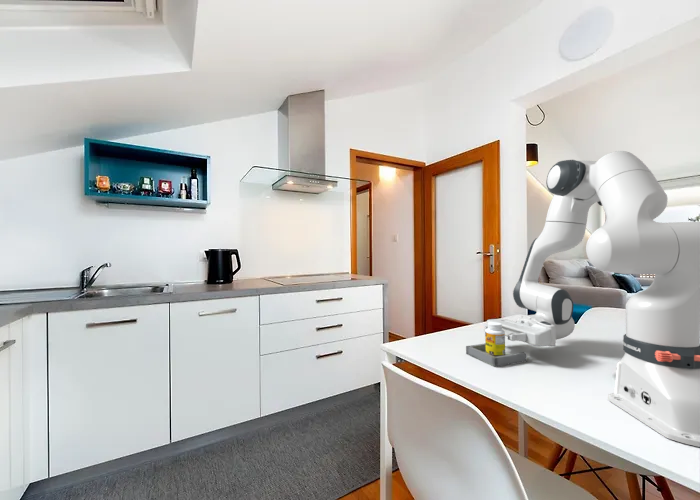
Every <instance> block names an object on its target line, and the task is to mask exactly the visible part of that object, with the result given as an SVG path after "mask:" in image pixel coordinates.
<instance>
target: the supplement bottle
mask: <svg viewBox="0 0 700 500" xmlns="http://www.w3.org/2000/svg"><path fill="white" fill-rule="evenodd" d="M484 332H485V333H484V335H485V336H484V337H485V338H484V339H485V340H484V341H485V343H484V344H485V347H486V353H487V354H489V355H492V356H494V357H497V356H503V355H505V352H506V336H505V331H504V330H502V324H501V323H498V322H489V323H488V328H487V329H486V330H485V331H484Z"/></svg>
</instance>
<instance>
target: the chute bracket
mask: <svg viewBox="0 0 700 500" xmlns="http://www.w3.org/2000/svg"><path fill="white" fill-rule="evenodd" d="M465 351H466V352H465V355H468V356H470V357H472V358H474V359H477V360H479V361H481V362H483V363H484V364H487V365H490V366H492V367H494V368H498V367H504V366H509V365H514V364H515V365H516V364H520V363H526V362H527V353H526V352H524V351H523V352H518V353H508V352H507V351H505V355H503V356H497V357H494V356H492V355H489V354H487V353H486V347H485V343H479V344H473V345H466V346H465Z"/></svg>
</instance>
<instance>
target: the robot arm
mask: <svg viewBox="0 0 700 500" xmlns="http://www.w3.org/2000/svg"><path fill="white" fill-rule="evenodd" d="M546 187H547V191H548V192H549V193H551V194H553V196H552V198H551V201H550V203H549V206H548V210H547V212H546V213H547V214H546V217H545V222H544V226H543V229H542V231H541V232H540V234H539V235H538V237H536V238H535V239H534V240H533V241H532V243H531V245H530V247H529V249H528V253H527V255H526V258H525V260H524V265H523V267H522V270H521V273H520V275H519V279H518V281H517V282H516V284H515V287H514V288H513V290H512V296H513V300H514V302H515V304H516V306H518V307H519V308H521V309H525V310H528V311H529V310H530V311H534V312H536V313H535V314H527V315H521V316H519V317H518V318H517V320H516V321H513V320H510V319H508V318H507V319H506V318H491V319H487V320H486V326H484V329H483V332H485V330H486V329H487V328H488V323H489V322H498V323H501V324H502V330H504V331H505V337H507V340H508V341H512V342H515V341H519V342H523V343H527V344H529V345H532V346H536V347H555V346H556V343H557V342H556V341H557V340H561V339H563V338H564V339H565V338H567V337H568V336H569V335H571V334H572V333H573V332H574V330H575V326H576V325H575V324H576V323H575V320H574V319H573V316H572V315H573V313H574V302H573V298H572V296H571V294H570V293H569V292H568V291H567V290H566V289H563V288H560V287H559V288H558V287H555V286H551V285H546V284H542V283H539V277H540V275H541V272H542V268H543V266H544V264H545V261H546V260H547V259H548V258H549V257H550V256H552V255H555V254H558V253H561V252H562V253H563V252H566V251H569V250H572V249H574V248H575V247H577V246H578V245H580V243H582V241H583V239H584V237H585V234H586V228H587V222H588V218H589V217H588V216H589V211H590V209H591V207H592V206H593V205H594V204H598V205H599V206H600V207H602V208H603V212H604V215H605V222H604V223H603V225H601V226H600V227H598V228H597V229H595V230H594V231H593V232H592V233H591V234H590V236H589V237H588V239H587V241H586V244H585V253H586V257H587V259H588V261H589V263H590V264H591V265H592V266H593V268H595V269H597V270H598V271H603V272H609V273H613V274H614V273H615V274H621V275H654V279H653V281H652V282H651V284H650V285H649V286H648V287H647V288H646V289H644V290H642V291H639V292H636V293H635V294H633V295H631V296H630V297H629V299H627V301H626V303H625V333H624V334H623V337H622V338H623V339H622V345H623V348H622V349H623V350H622V351H623V352H624V355H623V356H622V358H621V359H620V360H619V361H618V362H617V364H616V370H615V382H614V383H615V384H614V392H611V393H608V396H607V400H608V401H609V402H610V403H612V404H613V405H615V406H617V407H619V408H620V409H622V410H623V411H624V412H626V413H628V414H629V415H631V416H632V417H633V418H635V419H637V420H638V421H640V422H641V423H643V424H644V425H646V426H648V427H649V428H651V429H653V431H655V432H657V433H659V434H660V435H662V436H663V437H665V438H667V439H669V440H673V441H676V442H678V443H682V444H686V445H690V446H694V447H699V448H700V221H683V222H676V221H675V222H657V221H656V220H655V219H656V218H659V216H660V215H662V213H664V211H665V209H666V208H667V205H668V195H667V194H666V192H665V190H664V189H663V187H662V186H661V184H660V182H659V181H658V180H657V178H656V177H655V175H654V174H653V172H652V171H651V169H650V168H649V167H648V166H647V165H646V164H645V163H644V162H643V161H642V159H640V158H639V157H638V156H636V155H634V153H631V152H630V151H625V150H618V151H617V150H616V151H612V152H609V153H606V154H604V155H603V156H601V157H600V158H599V159H598V160H575V159H565V160H560V161H559V160H558V161H557V162H556V163H555V164H553V165H552V167H551V168H550V169H549V171H548V173H547V176H546Z"/></svg>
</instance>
